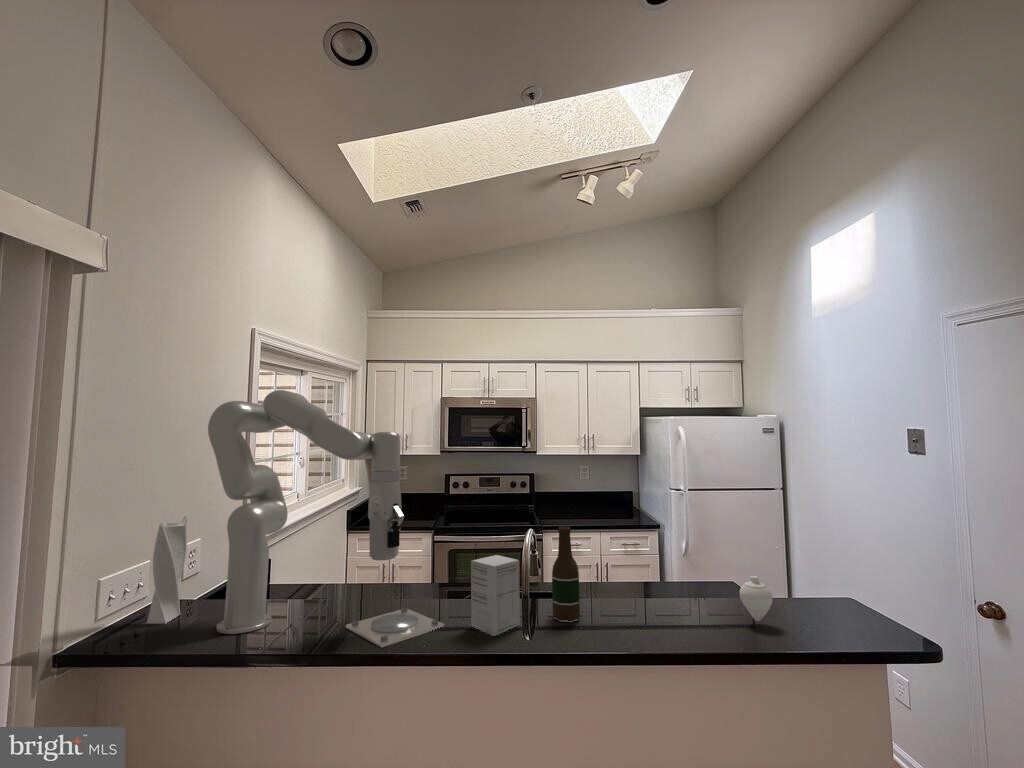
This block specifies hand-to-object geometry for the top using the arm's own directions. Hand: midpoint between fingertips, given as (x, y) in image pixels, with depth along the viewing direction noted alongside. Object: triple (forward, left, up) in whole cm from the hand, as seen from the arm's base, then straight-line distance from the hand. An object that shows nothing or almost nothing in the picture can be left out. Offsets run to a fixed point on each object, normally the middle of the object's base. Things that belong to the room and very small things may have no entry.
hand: (385, 544), depth 124 cm
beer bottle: (+30, +38, -21) cm, 53 cm away
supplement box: (+21, +20, -21) cm, 36 cm away
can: (0, 0, -3) cm, 3 cm away
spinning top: (+69, +68, -21) cm, 99 cm away
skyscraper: (-49, -39, -21) cm, 66 cm away
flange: (+2, +2, -21) cm, 21 cm away
